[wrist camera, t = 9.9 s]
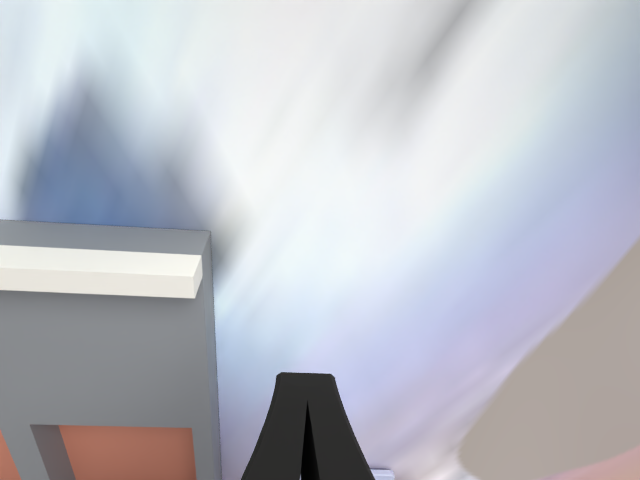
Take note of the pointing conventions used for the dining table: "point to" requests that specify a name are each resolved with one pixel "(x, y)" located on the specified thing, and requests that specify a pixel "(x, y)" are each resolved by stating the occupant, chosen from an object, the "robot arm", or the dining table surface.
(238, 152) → the dining table surface
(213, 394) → the board
